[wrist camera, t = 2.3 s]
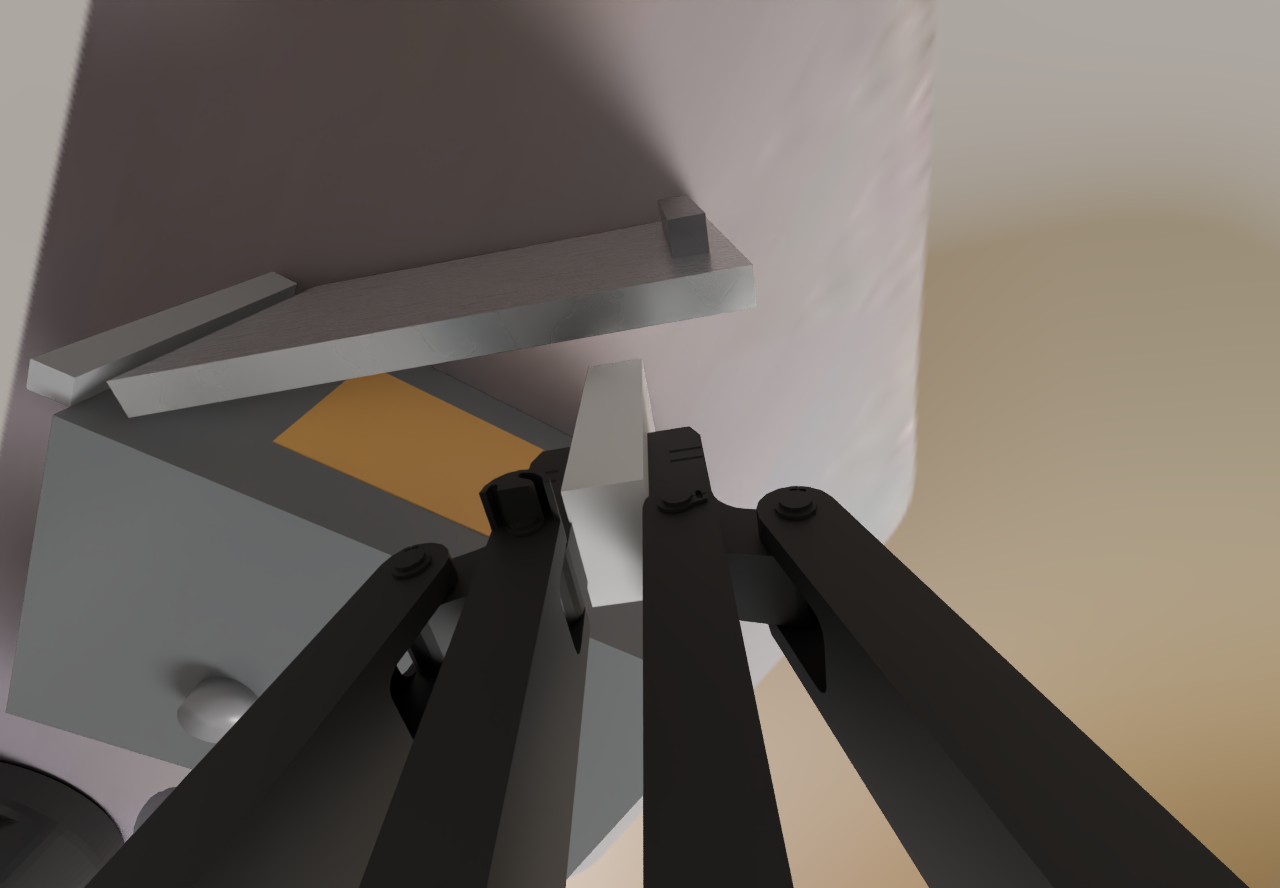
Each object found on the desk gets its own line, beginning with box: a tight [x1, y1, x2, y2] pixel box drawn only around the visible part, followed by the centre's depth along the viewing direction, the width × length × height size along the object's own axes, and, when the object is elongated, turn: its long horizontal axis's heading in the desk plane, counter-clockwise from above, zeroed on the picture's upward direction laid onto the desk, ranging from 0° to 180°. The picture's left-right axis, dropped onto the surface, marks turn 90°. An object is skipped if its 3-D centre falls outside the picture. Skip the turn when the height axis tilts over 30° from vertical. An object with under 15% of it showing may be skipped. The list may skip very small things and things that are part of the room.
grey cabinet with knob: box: [6, 271, 643, 879], centre depth 24 cm, size 13×24×13 cm, turn 60°
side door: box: [106, 195, 757, 418], centre depth 19 cm, size 2×16×11 cm, turn 100°
